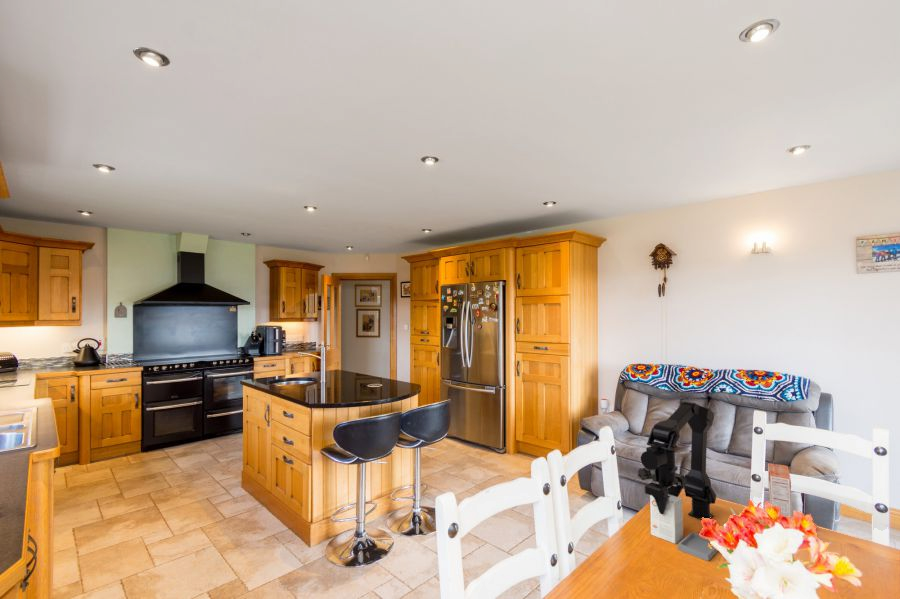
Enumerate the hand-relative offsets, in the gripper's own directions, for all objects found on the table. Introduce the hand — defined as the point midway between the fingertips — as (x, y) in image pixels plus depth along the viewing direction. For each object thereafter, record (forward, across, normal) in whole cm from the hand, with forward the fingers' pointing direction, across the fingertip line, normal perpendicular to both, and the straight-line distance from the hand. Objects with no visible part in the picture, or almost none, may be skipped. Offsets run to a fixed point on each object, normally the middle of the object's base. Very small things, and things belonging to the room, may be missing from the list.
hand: (666, 510), depth 143 cm
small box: (+9, 0, 0) cm, 9 cm away
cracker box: (+9, -32, +24) cm, 41 cm away
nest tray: (+8, 0, +10) cm, 13 cm away
